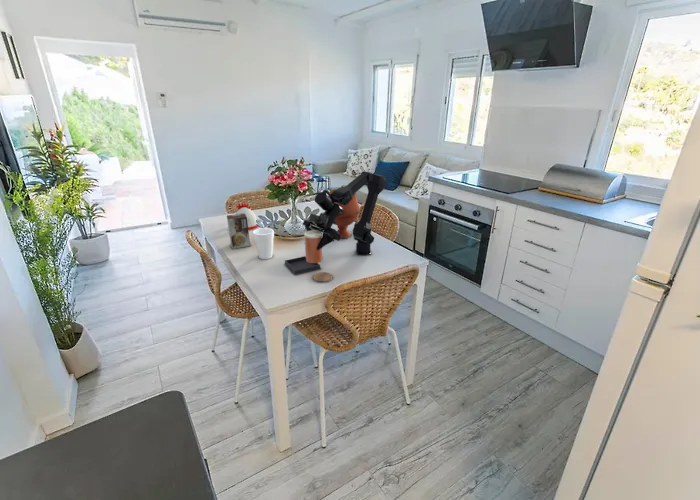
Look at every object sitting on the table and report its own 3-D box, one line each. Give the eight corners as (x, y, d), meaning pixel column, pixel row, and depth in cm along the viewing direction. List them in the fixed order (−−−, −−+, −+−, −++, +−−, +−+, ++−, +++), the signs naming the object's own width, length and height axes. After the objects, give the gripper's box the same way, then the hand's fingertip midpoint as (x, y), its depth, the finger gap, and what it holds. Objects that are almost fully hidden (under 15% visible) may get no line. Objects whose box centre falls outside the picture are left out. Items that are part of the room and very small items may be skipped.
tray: (309, 258, 167) (309, 255, 166) (320, 268, 157) (320, 265, 156) (284, 264, 161) (284, 260, 160) (294, 274, 152) (294, 271, 151)
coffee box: (248, 242, 185) (245, 212, 178) (250, 246, 180) (247, 216, 173) (230, 244, 181) (226, 215, 175) (232, 249, 176) (228, 218, 169)
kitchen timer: (234, 223, 212) (231, 199, 206) (258, 221, 215) (255, 198, 209) (233, 231, 199) (230, 205, 193) (258, 229, 202) (255, 204, 196)
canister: (319, 254, 154) (319, 229, 149) (325, 261, 147) (324, 235, 143) (303, 257, 151) (302, 231, 146) (308, 264, 145) (307, 237, 140)
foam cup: (265, 262, 163) (263, 236, 157) (251, 257, 167) (248, 232, 162) (279, 255, 170) (277, 230, 165) (265, 251, 174) (263, 226, 169)
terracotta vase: (331, 228, 206) (331, 186, 197) (362, 231, 202) (364, 189, 192) (320, 239, 190) (319, 194, 180) (354, 243, 185) (355, 197, 175)
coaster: (331, 273, 154) (331, 271, 153) (332, 281, 146) (332, 280, 146) (313, 273, 153) (313, 272, 153) (313, 282, 145) (313, 281, 145)
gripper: (304, 201, 148) (285, 232, 145) (335, 210, 137) (315, 244, 134) (318, 215, 157) (301, 244, 154) (349, 224, 145) (330, 256, 142)
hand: (311, 247), depth 146 cm, fingers closed on canister, 7 cm apart
